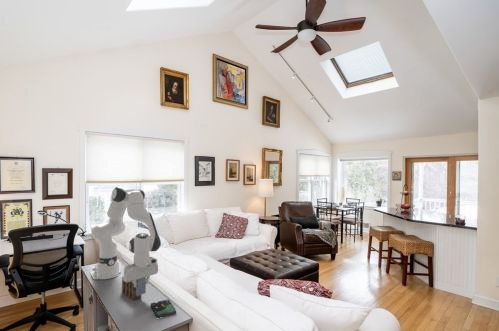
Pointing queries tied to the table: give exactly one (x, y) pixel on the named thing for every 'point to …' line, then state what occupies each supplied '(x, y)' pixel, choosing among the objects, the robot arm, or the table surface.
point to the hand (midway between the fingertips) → (140, 285)
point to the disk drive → (163, 308)
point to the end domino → (141, 286)
